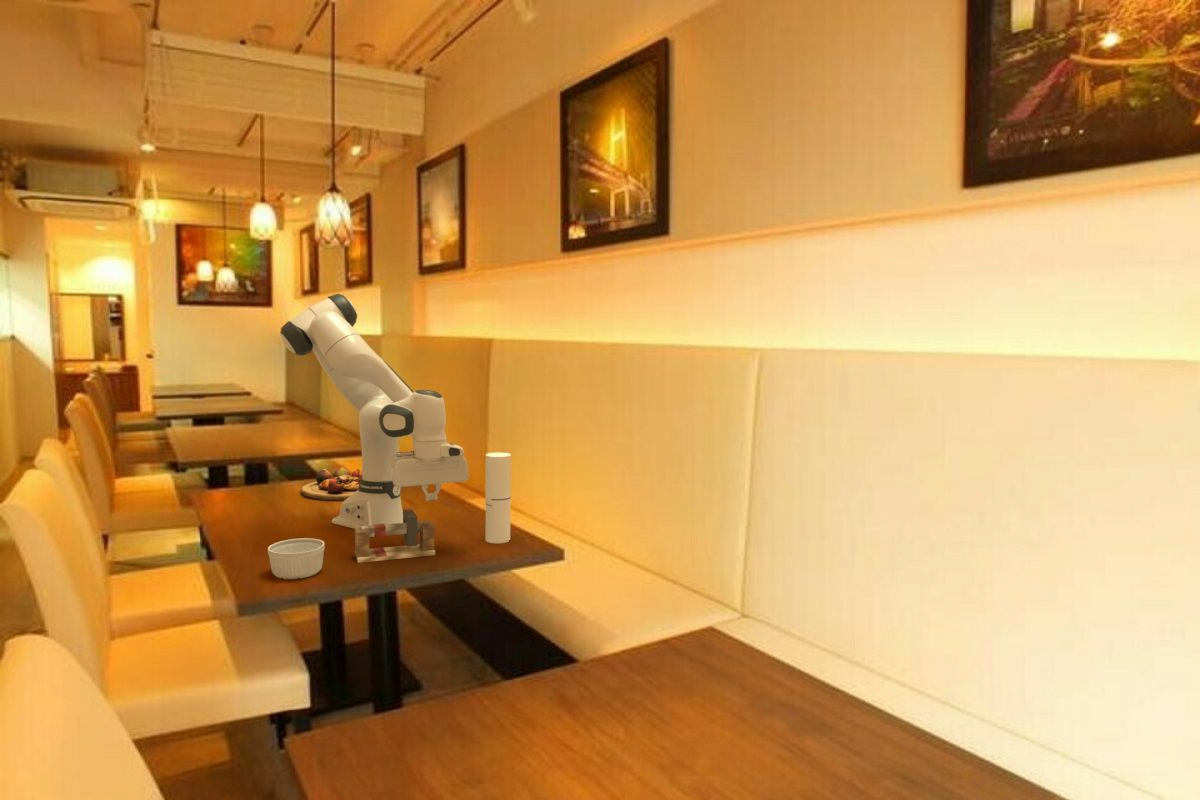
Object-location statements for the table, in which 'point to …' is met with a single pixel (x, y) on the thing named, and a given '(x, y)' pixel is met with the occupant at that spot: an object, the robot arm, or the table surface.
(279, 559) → the ramekin
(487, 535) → the cylindrical container
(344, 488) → the wooden plate with food
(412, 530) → the collar
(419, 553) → the pipe rig
